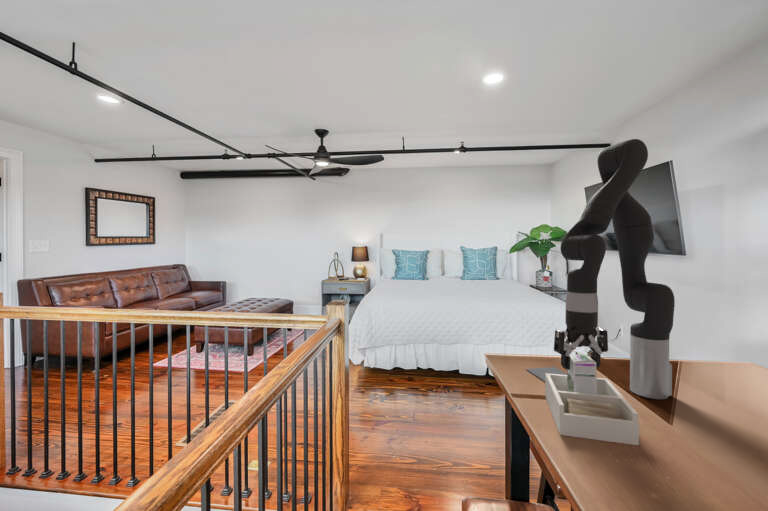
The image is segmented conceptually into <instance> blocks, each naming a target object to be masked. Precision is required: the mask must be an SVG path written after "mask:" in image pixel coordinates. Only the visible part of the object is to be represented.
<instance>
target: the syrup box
mask: <svg viewBox="0 0 768 511" xmlns="http://www.w3.org/2000/svg"><path fill="white" fill-rule="evenodd" d="M569 356H570V370H566V374H567V392H577V393H587V394H597V379H596V378H597V368H596V362H595V361H594V360H593V359H592V358H591V356H589V355H586V354H579V353H578V354H575V353H574V354H570V355H569Z"/></svg>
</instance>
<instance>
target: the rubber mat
mask: <svg viewBox="0 0 768 511" xmlns="http://www.w3.org/2000/svg"><path fill="white" fill-rule="evenodd" d="M525 370H526V371H527V372H529V373H530V374H532V375H533V376H535V377H536V378H538V380H541V381H542V382H544V383H545V373H549V374H560V375H567V372H565V371H563V370H561V369H559V368H558V367H555V366H550V367H549V366H548V367H534V368H526V369H525Z"/></svg>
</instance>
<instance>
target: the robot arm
mask: <svg viewBox="0 0 768 511" xmlns="http://www.w3.org/2000/svg"><path fill="white" fill-rule="evenodd" d="M648 157H649V152H648V147H647V146H646V143H645V142H644V141H643V140H642V139H639V138H632V139H628V140H624V141H622V142H621V141H620V142H618V143H615V144H612V145H609V146H607V147H603V148H602V149H601V150H599V152H598V155H597V161H596V162H597V168H598V171H599V176H600V179H601V181H602V185H603V186H601V187H600V189H598V190H597V191H596V192H595V193H594V194H593V196H591V197H590V198H589V200H588V201H587V204H586V205H585V208H584V209H583V212H582V213H581V216H580V218H579V220H578V221H577V222H576V223H575V224H574V225H573V226H572V227H571V228H570V229H569V230H568V232H566V234H565V235H564V237H563V239H562V240H561V243H560V247H559V248H560V249H559V250H560V252H561V255H562V257H563V258H564V259H566V260H569V261H579V262H580V261H583V263H582V265H581V267H580V268H577V269H571V270H569V271H568V273H567V276H566V296H565V324H566V329H565V330H559V329H555V331H554V341H553V342H554V343H553V344H554V345H553V351H554V352H556V353H558V354H560V366H561V367H562V368H563V369H564V370H566V371H567V370H570V356H569V355H572V352H573V351H575V350H576V349H577V348H581V347H586V348H589V349H590V351H591V352H590V358H592V359H593V360H594V361H595V362H596V369H599V368H600V366H601V355H602V353H607V352H608V351H609V343H608V342H609V340H608V330H606V329H604V328H601V327H598V325H599V323H598V322H599V321H598V320H599V316H598V315H599V297H598V277H599V274H600V270H601V266H602V265H603V264H602V263H603V261H604V259H605V255H606V251H607V245H606V242H605V240H604V238H603V237H602V236H601V234H603V233H605V232H606V231H607V229H609V226H610V223H611V222H612V227H613V232H614V238H615V242H616V245H617V250H618V251H617V252H618V258H619V263H620V268H621V271H620V272H621V282H622V283H621V284H622V295H623V299H624V302H625V304H626V306H627V307H628V308H629V309H630V310H632V311H634V312H635V311H636V312H640V313H643V314H644V316H643V320H642V322H637V323H632V324H631V326H630V330H629V333H630V338H629V339H630V340H629V343H630V344H629V345H630V346H629V347H630V349H629V351H630V352H629V354H630V355H629V390H630V391H631V393H634V394H636V395H638V396H640V397H644V398H647V399H652V400H653V399H654V400H666V399H668V398H669V397H670V396H671V397H672V396H673V394H672V393H673V392H672V391H673V386H672V385H673V382H672V381H673V365H672V363H671V362H670V336H671V335H670V334H671V332H672V329H673V326H674V316H675V304H676V301H675V295H674V291H673V290H672V289H671V287H670V286H668V285H666V284H663V283H657V282H656V283H655V282H649V281H647V276H646V271H645V270H646V267H645V265H646V260H647V258H648V255H649V253H650V251H651V248H652V246H653V244H654V240H655V234H654V228H653V222H652V219H651V218H652V217H651V215H650V214H649V212H648V210H647V209H646V208H645V207H644V206H643V205H642V204H641V203H640V202H638V200H636V198H634V197H633V195H631V193H629V189H630V188H631V186H632V185H633V184H634V182H635V181H636V179H637V178H638V176H639V175H640V174H641V172H642V171H643V170H644V168H645V166H646V163H647V162H648V159H649V158H648ZM570 343H571V344H570Z"/></svg>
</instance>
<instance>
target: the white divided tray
mask: <svg viewBox="0 0 768 511" xmlns="http://www.w3.org/2000/svg"><path fill="white" fill-rule="evenodd" d="M596 379H597V394H587V393H577V392H567V375H560V374H549V373H545V382H544V383H545V392H544V394H545V399H546V402H547V405H548V407H549V410H550V413H551V415H552V418H553V421H554V423H555V426H556V428H557V430H558V434H559V435H560V436H567V437H574V438H579V439H580V438H582V439H589V440H595V441H601V442H602V441H603V442H604V441H605V442H611V443H616V444H617V443H619V444H624V445H633V446H639V445H640V423H639V413H638V412H637V410H636V409H635V408H634V407H633V405H632V404H630V403H629V402H628V400H627V399H626V398H625V396H623V395H622V394H621V392H620V391H619V390H618V389H617V388H616V386H614V384H613V383H612V382H611V381H610V380H609V378H605V377H604V378H603V377H596ZM567 399H574V400H582V401H590V402H598V403H606V404H611V405H612V406H613V408H614V409H615V411H616V413H617V414H618V415H619V416H620V417H621V418H622V419H623V420H622V419H613V418H605V417H596V416H588V415H579V414H570V413H567V408H568V407H567Z"/></svg>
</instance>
